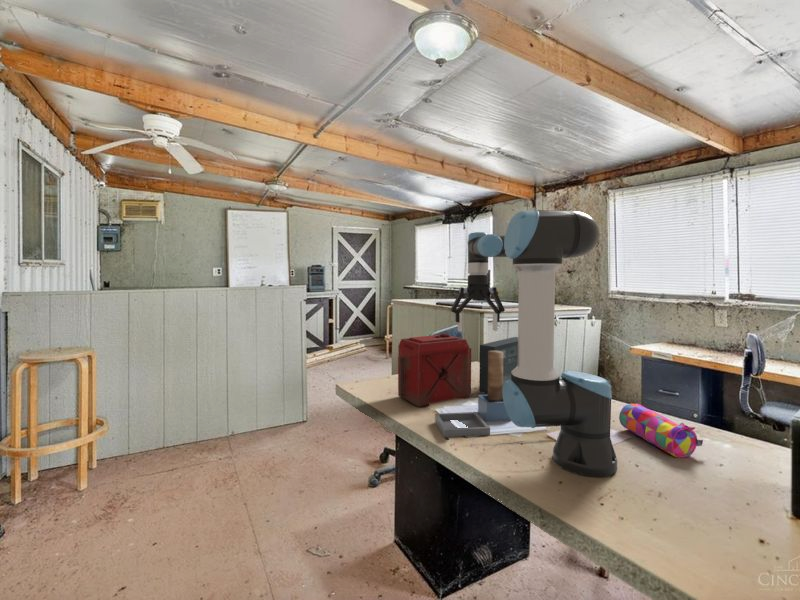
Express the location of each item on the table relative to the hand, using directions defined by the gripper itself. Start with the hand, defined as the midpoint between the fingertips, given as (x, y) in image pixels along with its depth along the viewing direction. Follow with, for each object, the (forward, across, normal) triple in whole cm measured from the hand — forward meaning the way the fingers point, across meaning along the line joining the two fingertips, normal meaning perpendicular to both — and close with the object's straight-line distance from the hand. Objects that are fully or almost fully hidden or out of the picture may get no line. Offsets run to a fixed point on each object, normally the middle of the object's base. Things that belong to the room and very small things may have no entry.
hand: (477, 330), depth 147 cm
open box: (+28, -1, +16) cm, 32 cm away
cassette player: (+28, -19, -21) cm, 40 cm away
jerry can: (+28, +16, -9) cm, 33 cm away
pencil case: (+28, -41, +40) cm, 64 cm away
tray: (+28, +13, +24) cm, 39 cm away
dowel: (+27, -1, +16) cm, 31 cm away
